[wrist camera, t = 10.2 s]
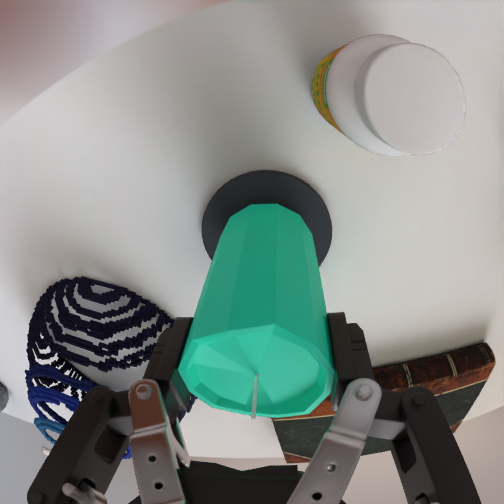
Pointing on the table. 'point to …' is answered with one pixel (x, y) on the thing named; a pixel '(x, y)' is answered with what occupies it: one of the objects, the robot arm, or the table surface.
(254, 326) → the candle
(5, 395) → the koala plush
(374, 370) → the book
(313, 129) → the table surface
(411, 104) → the supplement bottle
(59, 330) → the decorative bowl
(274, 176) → the coaster
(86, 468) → the robot arm
